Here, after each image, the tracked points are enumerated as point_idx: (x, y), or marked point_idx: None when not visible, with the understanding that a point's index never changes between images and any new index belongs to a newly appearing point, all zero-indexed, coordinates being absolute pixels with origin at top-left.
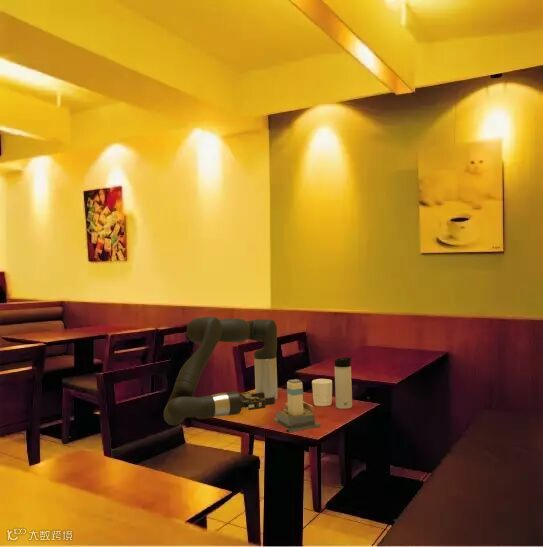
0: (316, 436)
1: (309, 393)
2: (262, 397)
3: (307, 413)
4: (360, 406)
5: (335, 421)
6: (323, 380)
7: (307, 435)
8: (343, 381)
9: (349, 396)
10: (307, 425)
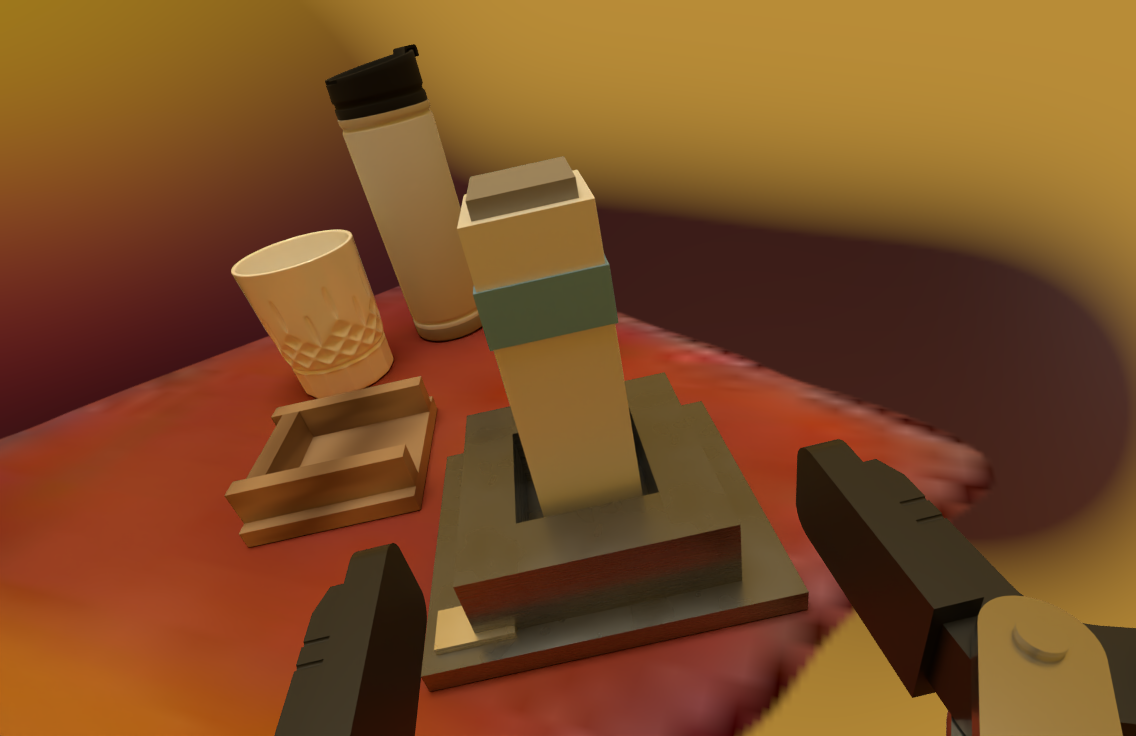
0: (916, 455)
1: (122, 394)
2: (415, 622)
3: None
4: None
5: None
6: (267, 256)
7: None
8: (444, 184)
9: None
10: (710, 459)
